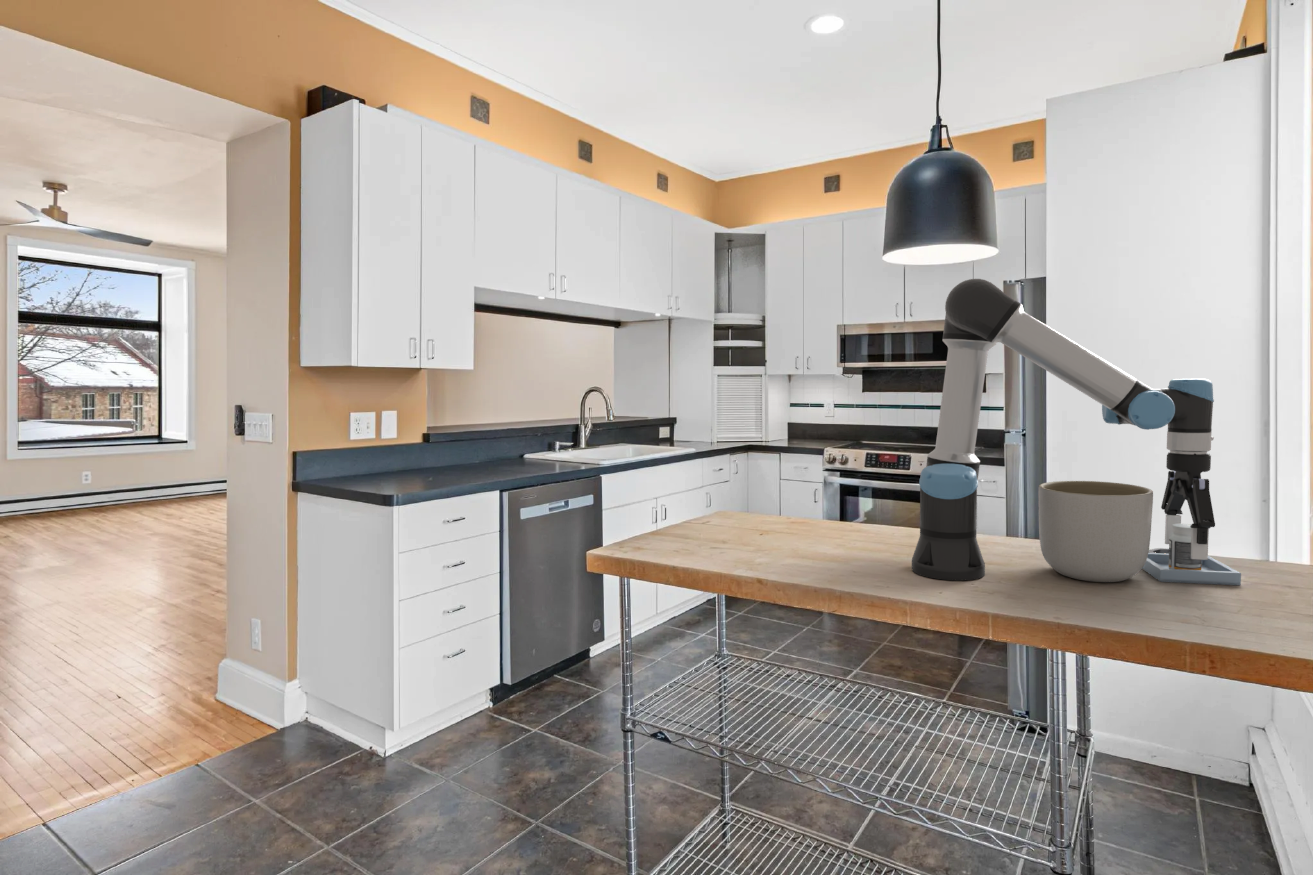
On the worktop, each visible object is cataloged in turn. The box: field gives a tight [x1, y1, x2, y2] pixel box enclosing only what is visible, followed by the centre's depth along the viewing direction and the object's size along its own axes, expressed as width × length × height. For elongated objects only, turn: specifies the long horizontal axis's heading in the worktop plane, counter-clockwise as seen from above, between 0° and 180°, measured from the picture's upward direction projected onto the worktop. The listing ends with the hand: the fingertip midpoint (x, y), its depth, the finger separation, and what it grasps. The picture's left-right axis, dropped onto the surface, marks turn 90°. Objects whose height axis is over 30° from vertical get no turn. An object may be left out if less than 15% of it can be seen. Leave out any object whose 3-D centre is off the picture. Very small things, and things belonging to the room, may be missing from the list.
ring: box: [1148, 547, 1169, 554], centre depth 167 cm, size 10×10×1 cm
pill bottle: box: [1168, 523, 1202, 570], centre depth 154 cm, size 6×6×10 cm
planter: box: [1038, 480, 1154, 583], centre depth 154 cm, size 21×21×19 cm
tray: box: [1141, 553, 1242, 586], centre depth 154 cm, size 14×15×2 cm
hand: (1185, 551), depth 154 cm, fingers open, 13 cm apart
